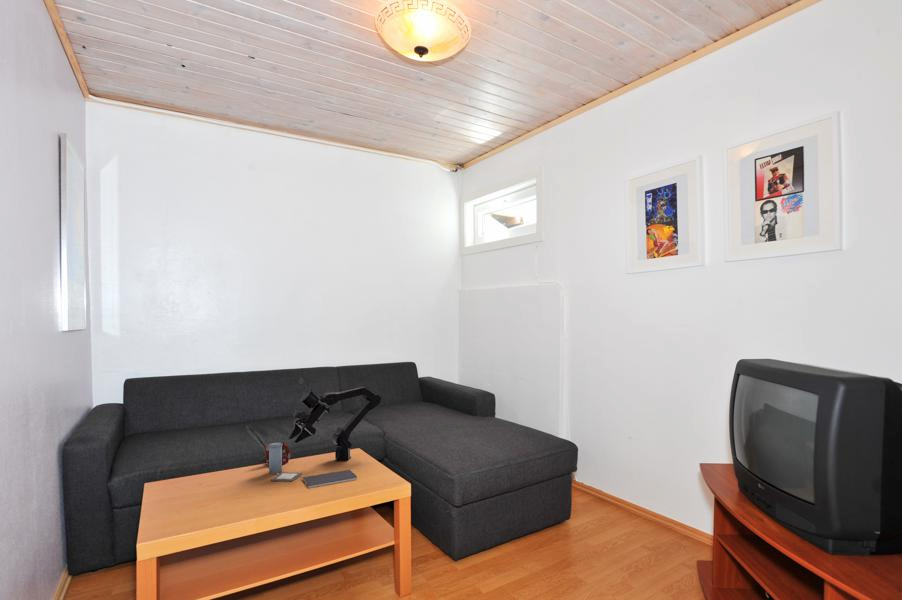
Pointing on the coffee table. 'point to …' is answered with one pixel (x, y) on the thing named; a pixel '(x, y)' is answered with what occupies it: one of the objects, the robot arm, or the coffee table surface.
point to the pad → (286, 477)
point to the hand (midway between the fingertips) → (292, 440)
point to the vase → (275, 458)
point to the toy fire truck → (284, 456)
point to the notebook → (329, 478)
